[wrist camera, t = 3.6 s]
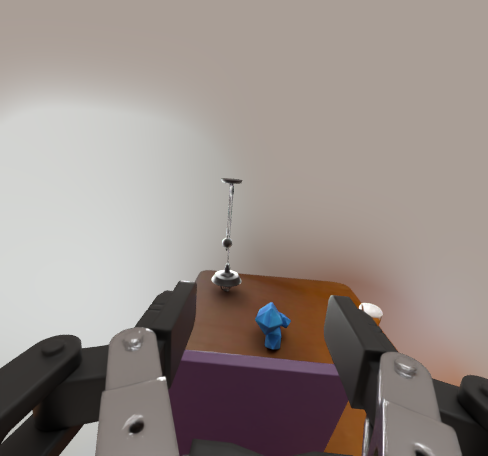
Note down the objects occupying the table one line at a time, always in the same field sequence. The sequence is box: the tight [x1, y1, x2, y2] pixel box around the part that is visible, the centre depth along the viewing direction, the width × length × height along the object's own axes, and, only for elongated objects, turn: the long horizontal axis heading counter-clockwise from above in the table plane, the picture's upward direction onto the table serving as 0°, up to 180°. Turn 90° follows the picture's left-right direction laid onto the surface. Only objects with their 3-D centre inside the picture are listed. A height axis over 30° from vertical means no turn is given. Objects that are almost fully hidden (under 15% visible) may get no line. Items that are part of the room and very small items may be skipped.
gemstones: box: [255, 302, 291, 349], centre depth 54 cm, size 7×9×12 cm
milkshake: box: [359, 303, 383, 326], centre depth 56 cm, size 5×5×10 cm
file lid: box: [168, 350, 348, 456], centre depth 21 cm, size 16×14×1 cm
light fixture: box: [212, 178, 242, 291], centre depth 72 cm, size 10×8×31 cm
